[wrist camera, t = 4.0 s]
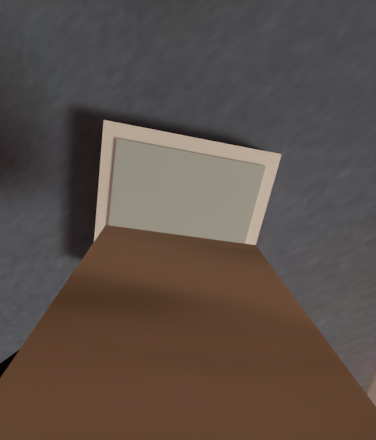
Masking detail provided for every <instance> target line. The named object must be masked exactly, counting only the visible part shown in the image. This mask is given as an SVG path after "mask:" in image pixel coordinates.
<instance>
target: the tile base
mask: <svg viewBox="0 0 376 440" xmlns="http://www.w3.org/2000/svg"><path fill="white" fill-rule="evenodd" d="M281 155H282V154H277V153H272V152H267V151H262V150H257V149H252V148H246V147H241V146H236V145H231V144H226V143H221V142H216V141H210V140H205V139H200V138H195V137H190V136H185V135H180V134H174V133H169V132H164V131H159V130H154V129H149V128H144V127H138V126H133V125H128V124H123V123H118V122H113V121H108V120H104V121H103V133H102V146H101V159H100V171H99V184H98V196H97V209H96V221H95V234H94V241H95V240H96V238H97V237H98V235H99V234H100V233H101V231H102V230H103V228H104V227H105V225H110V226H117V227H125V228H132V229H140V230H147V231H155V232H162V233H169V234H177V235H184V236H192V237H199V238H206V239H214V240H221V241H229V242H236V243H244V244H251V245H256V242H257V239H258V235H259V232H260V228H261V225H262V221H263V218H264V214H265V211H266V207H267V204H268V200H269V197H270V193H271V190H272V186H273V183H274V179H275V176H276V172H277V169H278V165H279V162H280V158H281Z"/></svg>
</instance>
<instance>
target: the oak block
mask: <svg viewBox="0 0 376 440" xmlns="http://www.w3.org/2000/svg"><path fill="white" fill-rule="evenodd" d="M0 440H376V407H375V405H374V404H373V403H372V401H371V400H370V399H369V397H368V396H367V394H366V393H365V392H364V390H363V389H362V388H361V386H360V385H359V384H358V382H357V381H356V380H355V378H354V377H353V376H352V374H351V373H350V372H349V370H348V369H347V368H346V366H345V365H344V364H343V362H342V361H341V360H340V358H339V357H338V355H337V354H336V353H335V351H334V350H333V349H332V347H331V346H330V345H329V343H328V342H327V341H326V339H325V338H324V337H323V335H322V334H321V333H320V331H319V330H318V329H317V327H316V326H315V325H314V323H313V322H312V321H311V319H310V318H309V317H308V315H307V314H306V312H305V311H304V310H303V308H302V307H301V306H300V304H299V303H298V302H297V300H296V299H295V298H294V296H293V295H292V294H291V292H290V291H289V290H288V288H287V287H286V286H285V284H284V283H283V282H282V280H281V279H280V278H279V276H278V275H277V273H276V272H275V271H274V269H273V268H272V267H271V265H270V264H269V263H268V261H267V260H266V259H265V257H264V256H263V255H262V253H261V252H260V251H259V249H258V248H257V247H256V245H251V244H244V243H236V242H229V241H221V240H214V239H206V238H199V237H192V236H184V235H177V234H169V233H162V232H155V231H147V230H140V229H132V228H125V227H117V226H110V225H105V227H104V228H103V230H102V231H101V233H100V234H99V235H98V237H97V238H96V240H95V241H94V243H93V244H92V246H91V247H90V248H89V250H88V251H87V253H86V254H85V256H84V257H83V259H82V260H81V262H80V263H79V264H78V266H77V267H76V269H75V270H74V272H73V273H72V275H71V276H70V278H69V279H68V280H67V282H66V283H65V285H64V286H63V288H62V289H61V291H60V292H59V293H58V295H57V296H56V298H55V299H54V301H53V302H52V304H51V305H50V307H49V308H48V309H47V311H46V312H45V314H44V315H43V317H42V318H41V320H40V321H39V323H38V324H37V325H36V327H35V328H34V330H33V331H32V333H31V334H30V336H29V337H28V338H27V340H26V341H25V343H24V344H23V346H22V347H21V349H20V350H19V352H18V353H17V354H16V356H15V357H14V359H13V360H12V362H11V363H10V365H9V366H8V368H7V369H6V370H5V372H4V373H3V375H2V376H1V378H0Z"/></svg>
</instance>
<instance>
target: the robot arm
mask: <svg viewBox="0 0 376 440" xmlns="http://www.w3.org/2000/svg"><path fill="white" fill-rule="evenodd" d="M18 352H19V350H18V351H17V352H15V353H14V354H13V355H11V356H10V357H8V358H7V359H6V360H4V361H3V362H2V363H0V378H1V376H2V375H3V373H4V372H5V370H6V369H7V368H8V366H9V365H10V363H11V362H12V360H13V359H14V357H15V356H16V354H17V353H18Z"/></svg>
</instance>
